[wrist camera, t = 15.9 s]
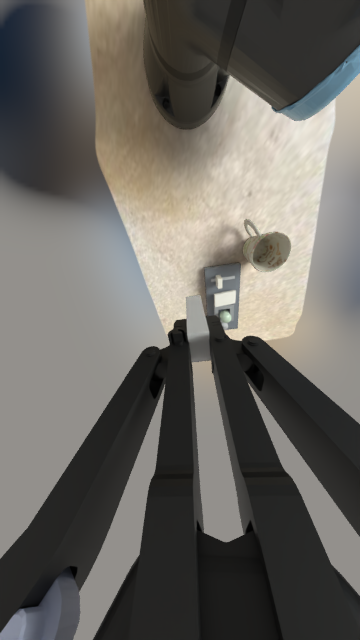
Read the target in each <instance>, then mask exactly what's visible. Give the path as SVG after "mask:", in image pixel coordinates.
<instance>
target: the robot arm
mask: <svg viewBox="0 0 360 640" xmlns="http://www.w3.org/2000/svg"><path fill="white" fill-rule="evenodd" d="M143 2H144V8H145V13H146V18H145V28H144V42H143V50H144V64H145V70H146V76H147V80H148V84H149V88H150V92H151V95H152V97H153V100H154V102H155V104H156V106H157V108H158V110H159V111H160V113H161V114H162V116H163V117H164V118H165V119H166V120H167V121H168V122H169V123H171V124H172V125H174V126H176V127H178V128H181V129H192V128H196V127H198V126H200V125H202V124H203V123H204V122H206V121H207V120H208V119H209V118H210V117H211V116H212V114H213V113H214V112H215V110H216V109H217V107H218V105H219V104H220V102H221V100H222V97H223V95H224V92H225V89H226V86H227V82H228V79H229V75H231V76H232V77H233V78H235V79H236V80H237V81H239V82H240V83H241V84H243V85H244V86H246V87H247V88H248V89H250V90H251V91H252V92H254V93H255V94H256V95H258V96H259V97H260V98H262V99H263V100H265V101H266V102H267V103H269V104H270V105H271V106H272V109H273V111H274V112H276V113H282V114H284V115H286V116H287V117H289V118H290V119H292V120H294V121H301V120H306V119H308V118H310V117H312V116H313V115H315V114H316V113H318V112H319V111H320V110H322V109H323V108H324V107H325V106H327V105H328V104H329V103H330V102H331V101H332V100H333V99H334V98H336V96H338V95H339V94H340V93H341V92H342V91H343V90H344V89H345V88H346V87H347V85H349V84H350V83H351V81H352V80H353V79H354V78H355V77H356V76H357V75H358V74H359V73H360V0H143ZM186 315H187V319H182V320H176V322H175V323H174V329H173V330H171V331H170V332H169V333H168V338H169V342H170V345H169V346H168V347H166V348H163V349H161V350H159V348H158V347H155V346H153V347H148V348H146V349H145V350H144V351H143V352H142V353H141V354H140V356H139V357H138V359H137V361H136V362H135V364H134V365H133V367H132V368H131V370H130V371H129V373H128V374H127V376H126V377H125V379H124V381H123V382H122V384H121V385H120V387H119V388H118V390H117V391H116V393H115V394H114V396H113V398H112V399H111V401H110V402H109V404H108V405H107V407H106V408H105V410H104V411H103V413H102V414H101V416H100V417H99V419H98V421H97V422H96V424H95V425H94V427H93V428H92V430H91V431H90V433H89V434H88V436H87V438H86V439H85V441H84V442H83V444H82V445H81V447H80V448H79V450H78V451H77V453H76V454H75V456H74V458H73V459H72V461H71V462H70V464H69V465H68V467H67V468H66V470H65V472H64V473H63V474H62V476H61V478H60V479H59V481H58V482H57V484H56V485H55V487H54V488H53V490H52V491H51V493H50V495H49V496H48V498H47V499H46V501H45V502H44V504H43V505H42V507H41V508H40V510H39V511H38V513H37V514H36V516H35V518H34V519H33V521H32V522H31V524H30V525H29V527H28V528H27V529H26V530H25V531H24V533H23V534H22V535H21V536H20V537H19V538H18V539H17V541H16V542H15V543H14V544H13V545H12V546H11V547H10V549H9V550H8V551H7V552H6V553H5V554H4V555H3V557H2V558H1V559H0V640H73V637H74V635H75V633H76V630H77V626H78V623H79V617H80V596H79V591H80V589H81V587H82V586H83V584H84V582H85V580H86V579H87V577H88V575H89V573H90V571H91V569H92V567H93V565H94V563H95V561H96V558H97V556H98V554H99V552H100V550H101V548H102V545H103V543H104V541H105V538H106V536H107V533H108V531H109V529H110V526H111V523H112V521H113V518H114V515H115V513H116V510H117V508H118V505H119V502H120V500H121V497H122V495H123V492H124V489H125V486H126V484H127V481H128V479H129V476H130V474H131V471H132V468H133V466H134V463H135V461H136V458H137V455H138V453H139V450H140V448H141V445H142V442H143V440H144V437H145V435H146V432H147V429H148V427H149V424H150V422H151V419H152V416H153V414H154V411H155V408H156V406H157V403H158V400H159V398H160V396H161V393H162V390H163V388H164V385H165V392H164V401H163V410H162V419H161V427H160V436H159V445H158V454H157V463H156V470H155V474H154V476H153V478H152V479H151V482H150V485H149V490H148V497H147V503H146V511H145V519H144V526H143V533H142V541H141V549H140V555H139V556H138V558H137V559H136V561H135V562H134V564H133V565H132V567H131V569H130V571H129V573H128V574H127V576H126V578H125V580H124V582H123V584H122V585H121V587H120V589H119V591H118V593H117V595H116V597H115V599H114V601H113V603H112V605H111V607H110V608H109V610H108V612H107V614H106V616H105V618H104V620H103V622H102V623H101V626H100V627H99V629H98V631H97V633H96V635H95V637H94V639H93V640H360V596H359V595H358V593H357V592H356V591H355V590H354V589H353V588H352V586H351V585H350V584H349V583H348V582H347V581H346V579H345V578H344V577H343V576H342V575H341V574H340V573H339V572H338V571H337V570H336V569H335V568H334V567H333V566H332V565H331V563H330V561H329V558H328V556H327V554H326V552H325V549H324V547H323V545H322V542H321V540H320V538H319V535H318V533H317V531H316V528H315V526H314V524H313V522H312V519H311V517H310V515H309V512H308V510H307V508H306V506H305V503H304V501H303V499H302V496H301V494H300V493H299V490H298V488H297V486H296V484H295V483H294V481H293V479H292V478H291V477H290V476H289V475H288V474H287V473H286V472H285V470H284V469H283V467H282V465H281V463H280V460H279V458H278V455H277V453H276V450H275V448H274V446H273V443H272V441H271V438H270V436H269V433H268V431H267V428H266V426H265V424H264V421H263V419H262V416H261V414H260V411H259V409H258V406H257V404H256V402H255V399H254V397H253V394H252V392H251V390H250V387H249V385H248V383H249V384H250V386H251V387H252V388H253V390H254V391H255V392H256V394H257V395H258V396H259V398H260V399H261V401H262V402H263V403H264V405H265V406H266V408H267V409H268V410H269V412H270V413H271V415H272V416H273V417H274V419H275V420H276V421H277V423H278V424H279V426H280V427H281V428H282V430H283V431H284V433H285V434H286V435H287V437H288V438H289V440H290V441H291V442H292V444H293V445H294V446H295V448H296V449H297V451H298V452H299V453H300V455H301V456H302V458H303V459H304V460H305V462H306V463H307V465H308V466H309V467H310V468H311V470H312V471H313V473H314V474H315V476H316V477H317V478H318V480H319V481H320V483H321V484H322V485H323V487H324V488H325V489H326V491H327V492H328V494H329V495H330V496H331V498H332V499H333V501H334V502H335V503H336V505H337V506H338V507H339V509H340V510H341V512H342V513H343V514H344V516H345V517H346V519H347V520H348V521H349V523H350V524H351V525H352V527H353V528H354V530H355V531H356V532H357V534H358V535H359V536H360V424H359V423H358V422H356V421H355V420H354V419H353V418H352V417H351V416H349V415H348V414H347V413H346V412H345V411H344V410H343V409H341V408H340V407H339V406H338V405H337V404H336V403H335V402H333V401H332V400H331V399H330V398H329V397H328V396H327V395H325V394H324V393H323V392H322V391H321V390H320V389H318V388H317V387H316V386H315V385H314V384H313V383H311V382H310V381H309V380H308V379H307V378H306V377H304V376H303V375H302V374H301V373H300V372H299V371H298V370H297V369H295V368H294V367H293V366H292V365H291V364H290V363H289V362H287V361H286V360H285V359H284V358H283V357H282V356H281V355H279V354H278V353H277V352H276V351H275V350H274V349H272V348H271V347H270V346H269V345H268V344H267V343H266V342H264V341H263V340H262V339H261V338H259V337H256V336H246V337H244V338H243V339H242V341H237V340H232V339H230V338H229V337H228V335H226V334H225V332H224V329H223V326H222V324H221V322H220V319H219V317H217V316H216V315H213V316H205V313H204V308H203V304H202V300H201V296H200V295H196V296H189V297H186ZM209 360H211V362H212V373H213V375H214V380H215V385H216V389H217V394H218V400H219V405H220V410H221V415H222V420H223V425H224V430H225V435H226V440H227V445H228V450H229V455H230V461H231V465H232V470H233V476H234V480H235V486H236V491H237V497H238V505H239V512H240V517H241V522H242V528H243V533H244V535H243V536H241V537H239V538H236V539H234V540H232V541H230V542H222V541H220V540H218V539H216V538H214V537H211V536H209V535H207V534H205V533H204V528H203V514H202V503H201V494H200V480H199V466H198V465H199V464H198V449H197V433H196V418H195V402H194V387H193V371H192V362H199V361H209ZM247 381H248V382H247Z"/></svg>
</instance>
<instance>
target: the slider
mask: <svg viewBox="0 0 360 640" xmlns="http://www.w3.org/2000/svg"><path fill="white" fill-rule="evenodd" d="M215 276H216V286H217V288H218V289H221V288H222V277H221V276H220V275H215Z"/></svg>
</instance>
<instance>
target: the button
mask: <svg viewBox="0 0 360 640" xmlns="http://www.w3.org/2000/svg"><path fill="white" fill-rule="evenodd" d="M220 318H221V320H222V322H223V323H228V322H230V321H231V315H230V314H229V312H228V311H227V310H223V311H221V312H220Z"/></svg>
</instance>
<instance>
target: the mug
mask: <svg viewBox="0 0 360 640" xmlns="http://www.w3.org/2000/svg"><path fill="white" fill-rule="evenodd" d="M248 225H249V226H251V227H252V228H253V230H254V231H255V233H256V235H257V236H253V235H252V233H251V231H250V229H249V226H248ZM244 226H245V229H246V231H247V233H248V234H249V236H250V237H251V238H249V239H248V240H247V241H246V242H245V244H244V246H243V255H244V256H245V258H246V259H247V260H248V261H249V262H250V263H251V264H252V265H253V267H254V268H255V269H257V270H258V271H261V272H271V271H274V270H276V269H278V268H279V267H280V266H282V265H283V264H284V263H285V261H286V260H287V258H288V256H289V254H290V251H291V242H290V239H289V238H288V236H287V235H285V234H284V233H281V232H270V233H266V234H262V235H261V233H260V231H259V229H258V228H257V226H256V225H255V224H254V223H253V222H252V221H251V220H249V219H246V220H245V221H244Z"/></svg>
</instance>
